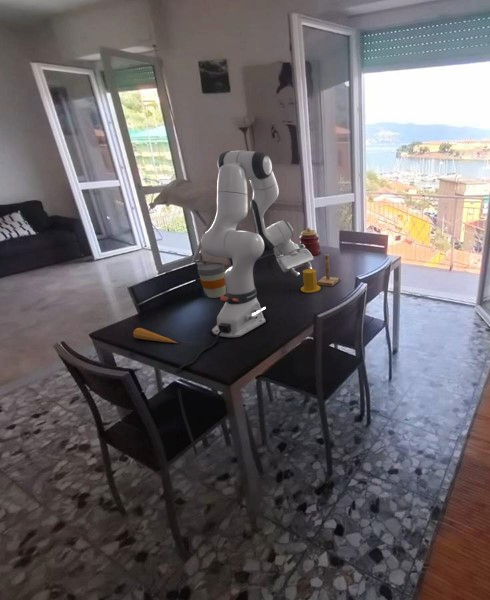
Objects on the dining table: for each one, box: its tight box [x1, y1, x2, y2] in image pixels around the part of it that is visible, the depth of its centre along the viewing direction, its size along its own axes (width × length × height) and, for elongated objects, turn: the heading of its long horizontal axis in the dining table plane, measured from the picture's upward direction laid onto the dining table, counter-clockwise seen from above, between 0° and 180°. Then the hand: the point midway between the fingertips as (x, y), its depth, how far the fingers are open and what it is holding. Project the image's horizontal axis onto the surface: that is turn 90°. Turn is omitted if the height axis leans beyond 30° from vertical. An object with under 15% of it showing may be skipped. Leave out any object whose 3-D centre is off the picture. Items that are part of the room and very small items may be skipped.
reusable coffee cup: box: [197, 261, 227, 299], centre depth 177 cm, size 12×13×15 cm
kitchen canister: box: [299, 227, 321, 257], centre depth 237 cm, size 13×13×18 cm
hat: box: [299, 268, 322, 294], centre depth 182 cm, size 10×10×10 cm
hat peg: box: [317, 253, 340, 287], centre depth 189 cm, size 9×9×16 cm
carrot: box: [132, 327, 178, 344], centre depth 139 cm, size 20×4×4 cm, turn 74°
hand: (305, 273), depth 182 cm, fingers open, 8 cm apart
